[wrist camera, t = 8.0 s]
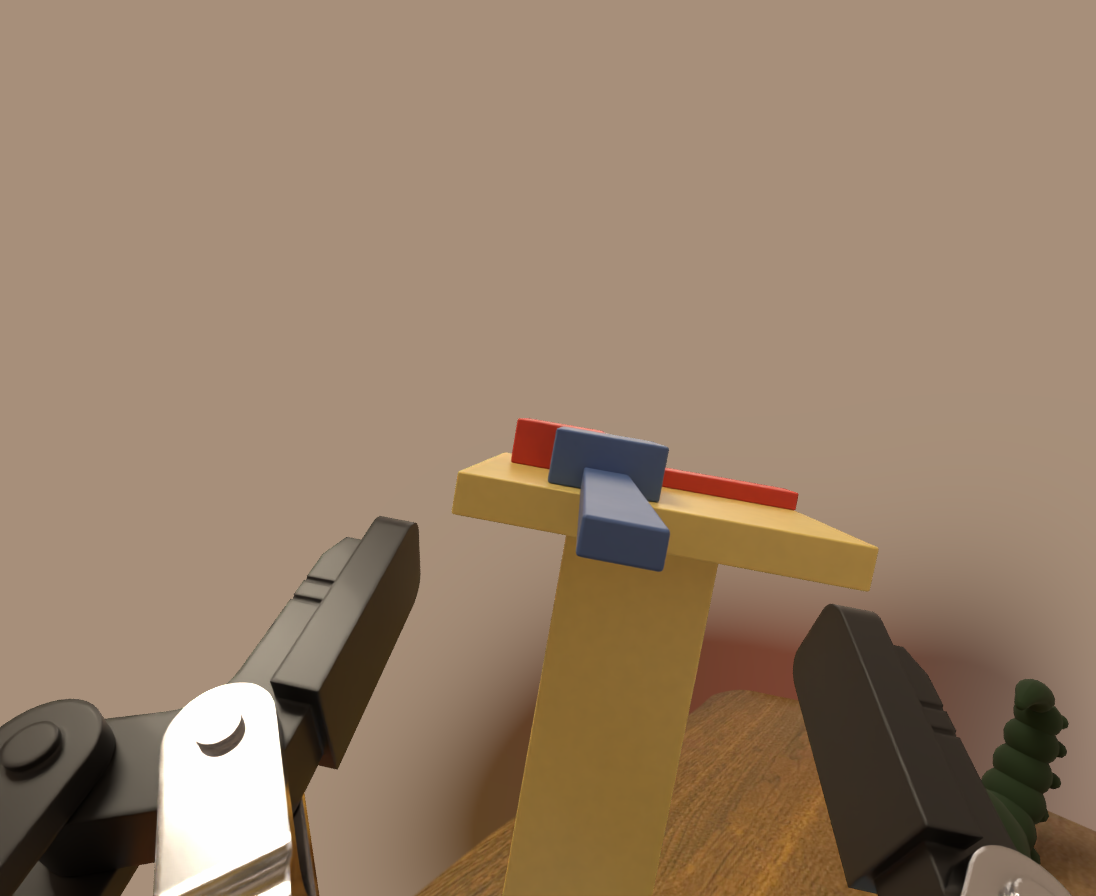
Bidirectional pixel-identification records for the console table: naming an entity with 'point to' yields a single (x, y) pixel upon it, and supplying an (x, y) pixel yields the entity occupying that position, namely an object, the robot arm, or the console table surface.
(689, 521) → the stand
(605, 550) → the blue toy mallet
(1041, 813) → the green caterpillar figure
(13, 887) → the robot arm
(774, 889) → the console table surface
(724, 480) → the red toy mallet
